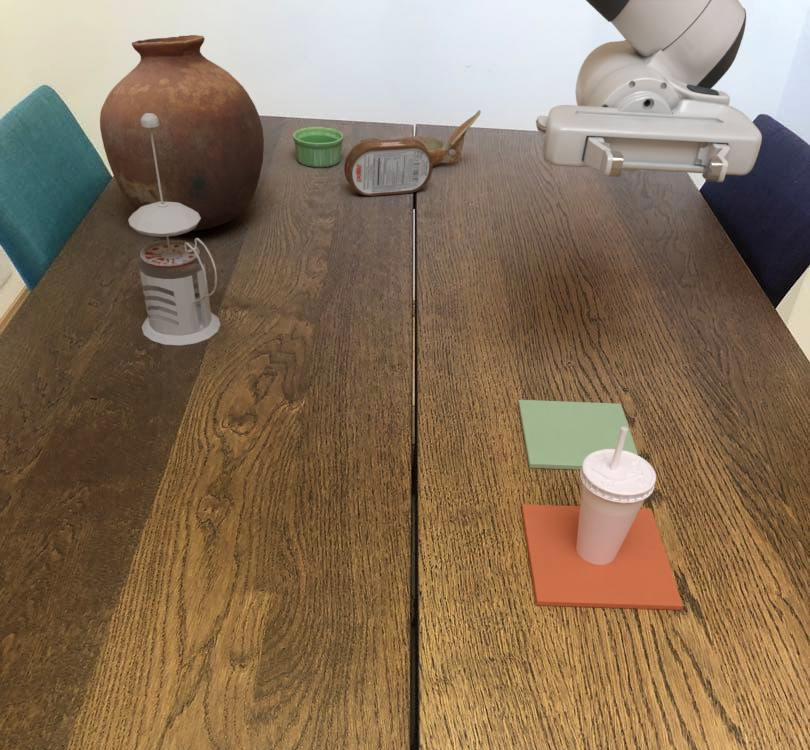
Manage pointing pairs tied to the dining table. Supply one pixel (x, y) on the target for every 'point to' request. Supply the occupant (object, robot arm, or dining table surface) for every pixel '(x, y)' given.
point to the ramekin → (318, 146)
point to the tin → (388, 167)
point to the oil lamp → (441, 149)
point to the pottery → (183, 132)
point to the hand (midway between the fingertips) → (666, 170)
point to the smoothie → (610, 500)
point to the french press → (172, 298)
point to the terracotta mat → (597, 584)
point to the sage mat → (570, 431)
